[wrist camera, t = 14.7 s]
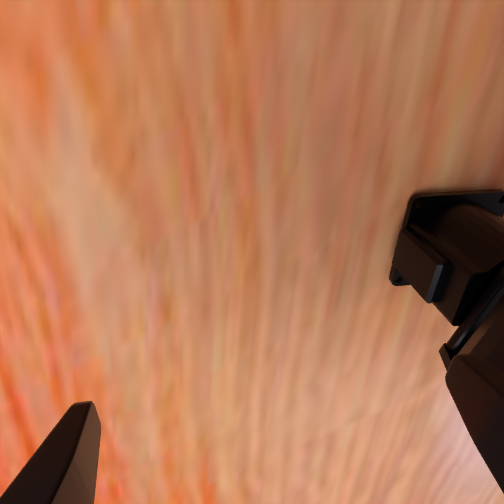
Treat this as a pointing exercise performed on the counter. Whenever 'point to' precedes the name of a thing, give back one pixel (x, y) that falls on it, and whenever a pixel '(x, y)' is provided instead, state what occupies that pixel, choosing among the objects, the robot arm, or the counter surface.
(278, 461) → the counter surface
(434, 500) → the counter surface
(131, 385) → the counter surface
